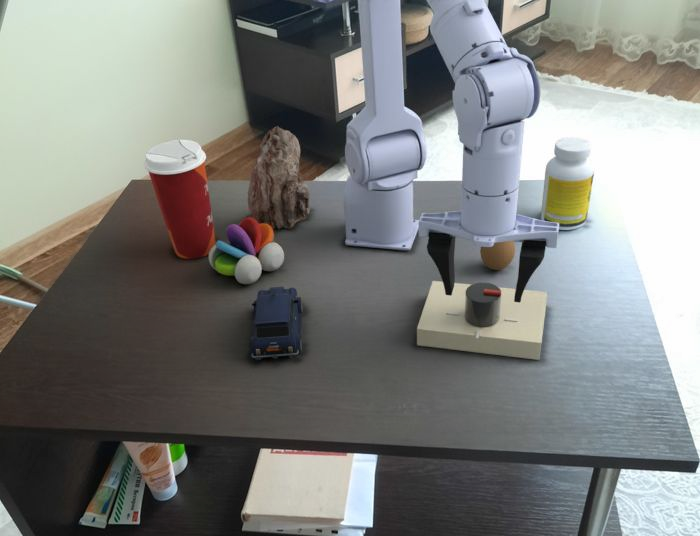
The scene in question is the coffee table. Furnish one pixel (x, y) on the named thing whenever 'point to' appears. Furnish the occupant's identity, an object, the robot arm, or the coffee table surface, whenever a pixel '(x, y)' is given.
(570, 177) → the pill bottle
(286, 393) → the coffee table surface
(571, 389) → the coffee table surface
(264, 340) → the toy car
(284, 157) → the stone
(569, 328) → the coffee table surface
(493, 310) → the knob
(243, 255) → the rainbow baby rattle
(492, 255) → the egg
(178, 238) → the coffee cup
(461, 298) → the cream dial panel
